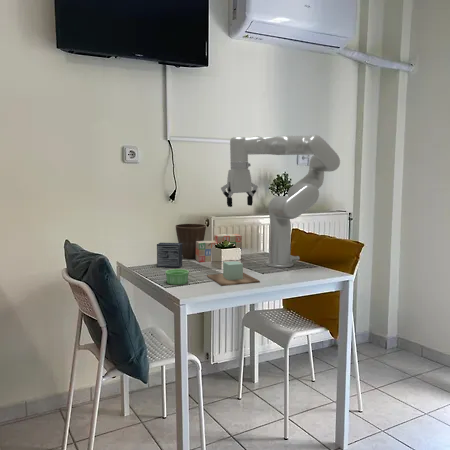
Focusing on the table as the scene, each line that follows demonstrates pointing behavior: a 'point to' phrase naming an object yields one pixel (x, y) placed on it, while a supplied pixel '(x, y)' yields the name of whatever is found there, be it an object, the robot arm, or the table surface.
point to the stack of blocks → (205, 246)
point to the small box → (169, 255)
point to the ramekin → (177, 276)
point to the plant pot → (190, 238)
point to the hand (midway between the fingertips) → (239, 206)
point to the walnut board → (223, 281)
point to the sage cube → (233, 270)
